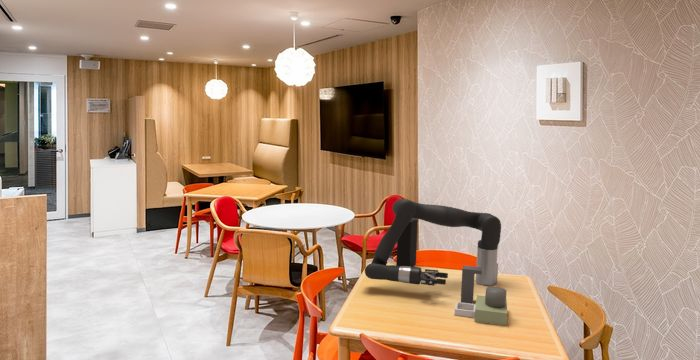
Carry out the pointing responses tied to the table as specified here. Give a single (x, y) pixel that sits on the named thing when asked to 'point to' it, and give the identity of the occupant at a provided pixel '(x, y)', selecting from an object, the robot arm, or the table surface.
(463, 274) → the dark grey angled block
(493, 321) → the green block with cylinder
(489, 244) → the robot arm
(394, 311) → the table surface
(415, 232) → the black upright block
